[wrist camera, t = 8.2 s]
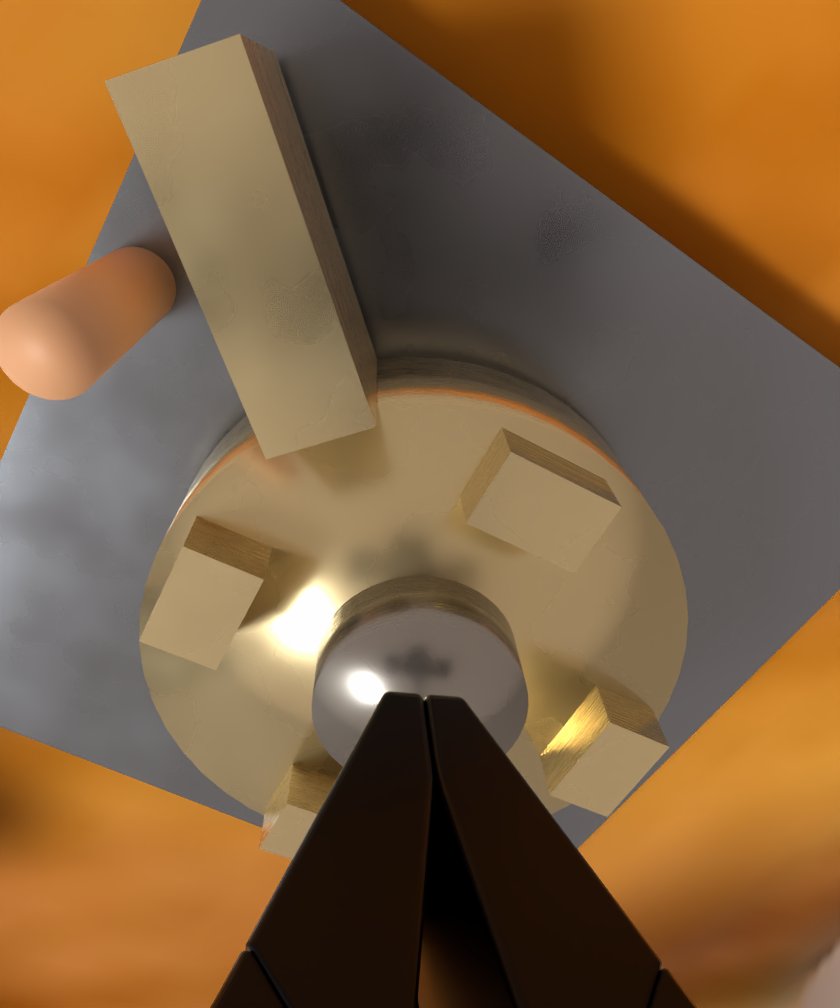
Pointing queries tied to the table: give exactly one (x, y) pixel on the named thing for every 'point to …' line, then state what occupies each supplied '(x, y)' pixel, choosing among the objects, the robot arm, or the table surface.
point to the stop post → (84, 322)
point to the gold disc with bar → (375, 504)
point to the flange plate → (425, 334)
